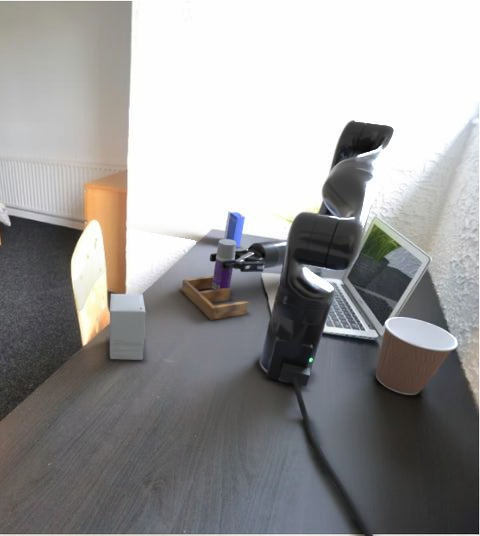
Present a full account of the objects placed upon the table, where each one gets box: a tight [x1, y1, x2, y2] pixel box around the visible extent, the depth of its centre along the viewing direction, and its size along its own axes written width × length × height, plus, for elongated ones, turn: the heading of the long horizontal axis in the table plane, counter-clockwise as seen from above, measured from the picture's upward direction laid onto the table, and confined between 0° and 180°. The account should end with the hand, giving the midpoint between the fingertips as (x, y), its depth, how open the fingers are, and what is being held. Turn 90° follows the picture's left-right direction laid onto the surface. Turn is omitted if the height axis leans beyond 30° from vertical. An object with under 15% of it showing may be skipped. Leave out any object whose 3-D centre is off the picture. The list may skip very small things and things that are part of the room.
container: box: [211, 238, 236, 290], centre depth 103 cm, size 5×5×15 cm
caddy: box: [181, 275, 249, 321], centre depth 102 cm, size 10×16×4 cm, turn 13°
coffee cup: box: [375, 316, 459, 396], centre depth 71 cm, size 10×10×12 cm
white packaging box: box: [109, 293, 146, 361], centre depth 82 cm, size 7×7×13 cm
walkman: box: [223, 210, 246, 249], centre depth 137 cm, size 8×3×12 cm, turn 3°
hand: (216, 261), depth 102 cm, fingers closed on container, 4 cm apart
